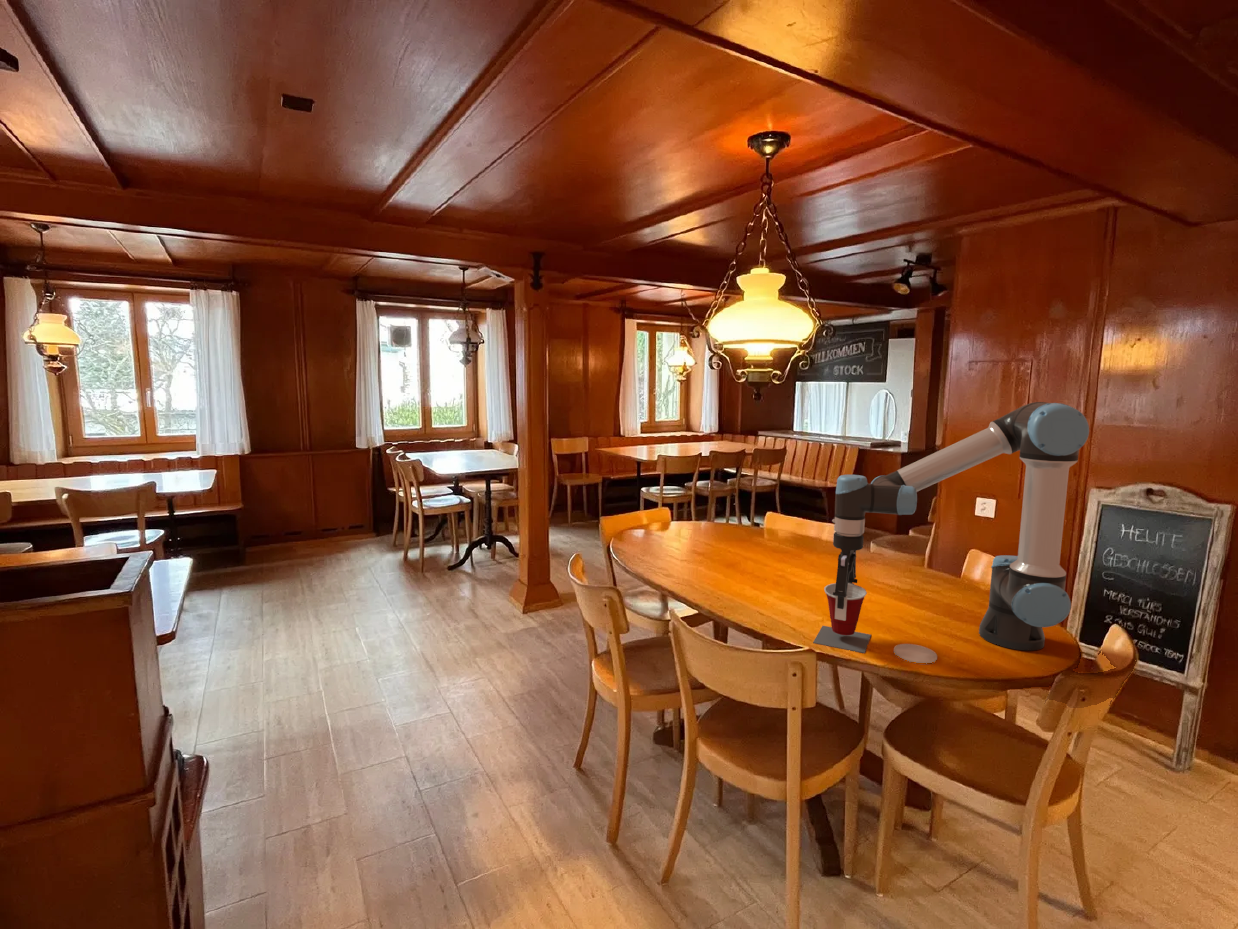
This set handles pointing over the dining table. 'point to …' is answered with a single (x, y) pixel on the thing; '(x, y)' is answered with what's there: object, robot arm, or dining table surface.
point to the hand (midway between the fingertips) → (844, 612)
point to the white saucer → (915, 653)
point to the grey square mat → (842, 640)
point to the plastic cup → (852, 612)
